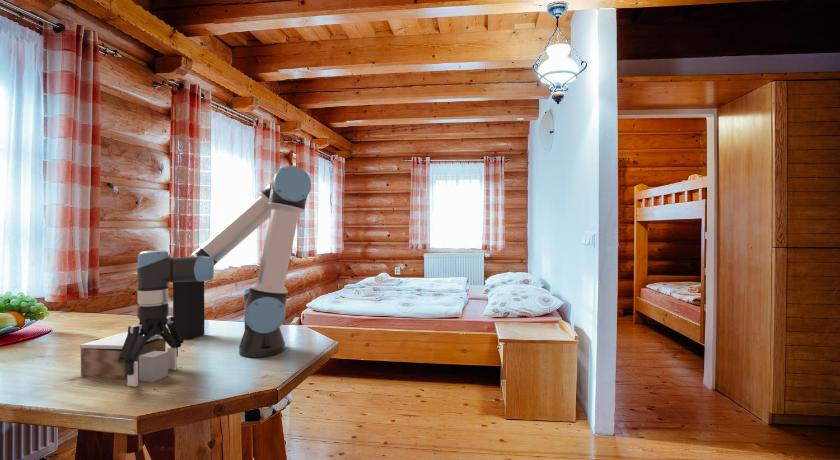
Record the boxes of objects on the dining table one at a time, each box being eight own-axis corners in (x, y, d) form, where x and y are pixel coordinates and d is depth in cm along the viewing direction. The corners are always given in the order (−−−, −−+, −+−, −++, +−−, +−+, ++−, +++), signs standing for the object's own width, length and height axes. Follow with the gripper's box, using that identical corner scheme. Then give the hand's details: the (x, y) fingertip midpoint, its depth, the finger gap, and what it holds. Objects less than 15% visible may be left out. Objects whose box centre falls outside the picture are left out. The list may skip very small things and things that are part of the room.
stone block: (168, 375, 118) (168, 351, 118) (153, 381, 113) (153, 357, 113) (154, 374, 119) (154, 350, 119) (139, 380, 114) (138, 356, 114)
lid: (165, 335, 128) (165, 332, 128) (123, 349, 114) (123, 345, 114) (125, 335, 132) (125, 332, 132) (80, 348, 117) (79, 344, 117)
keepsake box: (165, 363, 128) (165, 338, 128) (124, 379, 114) (124, 351, 114) (125, 359, 131) (125, 335, 131) (80, 374, 118) (80, 348, 118)
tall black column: (189, 339, 154) (189, 268, 154) (172, 338, 156) (172, 267, 156) (204, 334, 162) (204, 266, 162) (188, 333, 164) (187, 265, 163)
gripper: (176, 296, 128) (176, 361, 128) (100, 311, 104) (101, 392, 104) (196, 297, 127) (196, 363, 127) (123, 313, 103) (124, 395, 103)
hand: (153, 377), depth 116 cm, fingers open, 12 cm apart
